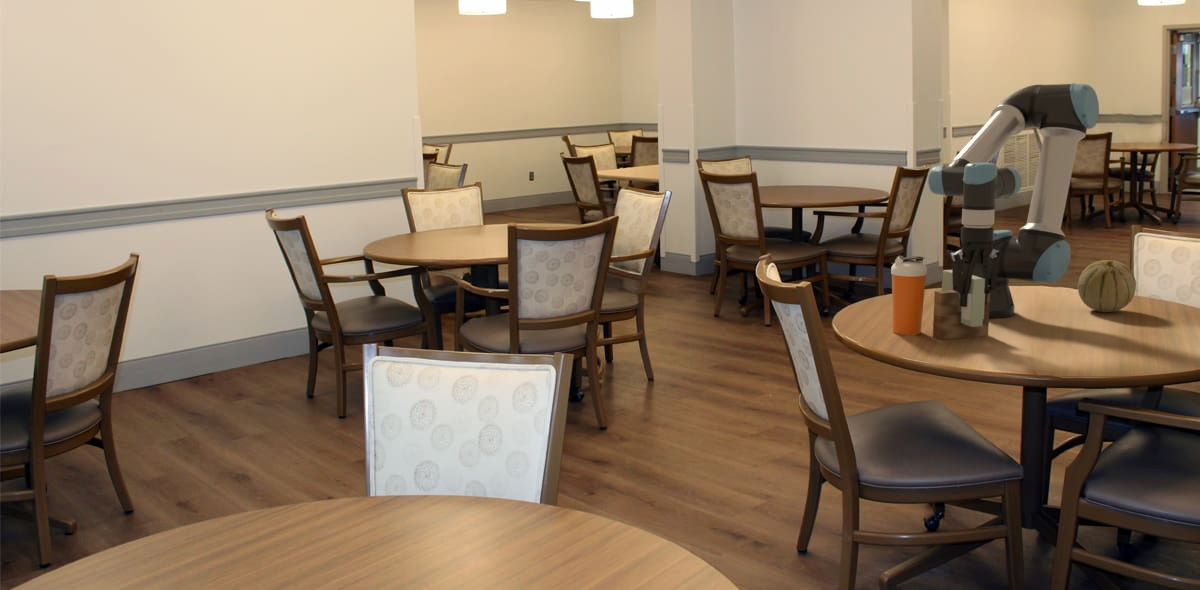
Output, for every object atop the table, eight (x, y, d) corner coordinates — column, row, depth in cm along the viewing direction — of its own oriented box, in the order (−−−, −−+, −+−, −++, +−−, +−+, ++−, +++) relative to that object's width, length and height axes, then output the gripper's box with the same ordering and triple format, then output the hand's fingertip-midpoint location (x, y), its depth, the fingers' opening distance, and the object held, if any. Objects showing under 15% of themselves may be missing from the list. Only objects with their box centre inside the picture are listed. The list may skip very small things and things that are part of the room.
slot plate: (940, 315, 265) (942, 270, 263) (950, 314, 266) (953, 269, 263) (971, 326, 252) (974, 279, 249) (982, 325, 252) (984, 278, 250)
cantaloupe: (1116, 305, 290) (1120, 253, 287) (1145, 316, 276) (1149, 262, 273) (1065, 306, 290) (1069, 255, 287) (1091, 318, 275) (1095, 264, 272)
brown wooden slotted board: (981, 332, 263) (983, 287, 260) (987, 335, 260) (990, 289, 257) (932, 336, 259) (934, 291, 257) (939, 339, 257) (941, 293, 254)
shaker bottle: (926, 336, 260) (929, 259, 256) (890, 335, 262) (893, 259, 258) (922, 328, 269) (925, 254, 265) (887, 327, 271) (890, 254, 267)
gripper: (997, 222, 254) (991, 313, 259) (939, 225, 251) (935, 317, 255) (1015, 226, 247) (1010, 319, 252) (956, 229, 244) (952, 324, 248)
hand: (972, 318), depth 254 cm, fingers closed on slot plate, 3 cm apart
